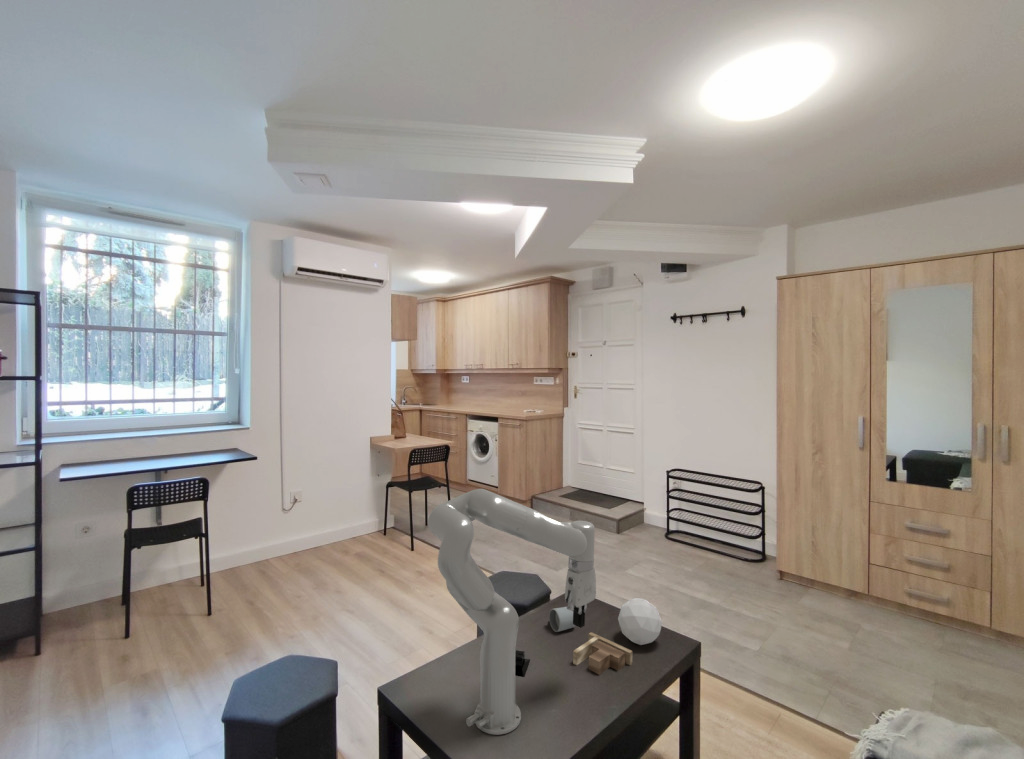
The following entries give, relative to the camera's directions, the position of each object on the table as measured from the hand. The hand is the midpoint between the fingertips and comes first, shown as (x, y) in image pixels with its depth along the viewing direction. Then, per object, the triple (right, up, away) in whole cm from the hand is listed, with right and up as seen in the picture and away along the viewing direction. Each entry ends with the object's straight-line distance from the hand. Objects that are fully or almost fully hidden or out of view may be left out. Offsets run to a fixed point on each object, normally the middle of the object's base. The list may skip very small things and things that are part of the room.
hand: (578, 625), depth 141 cm
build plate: (-18, -18, +8) cm, 27 cm away
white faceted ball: (+25, -18, +23) cm, 38 cm away
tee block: (+10, -18, +10) cm, 22 cm away
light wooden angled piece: (+8, -18, +11) cm, 22 cm away
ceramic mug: (-2, -18, +32) cm, 37 cm away
